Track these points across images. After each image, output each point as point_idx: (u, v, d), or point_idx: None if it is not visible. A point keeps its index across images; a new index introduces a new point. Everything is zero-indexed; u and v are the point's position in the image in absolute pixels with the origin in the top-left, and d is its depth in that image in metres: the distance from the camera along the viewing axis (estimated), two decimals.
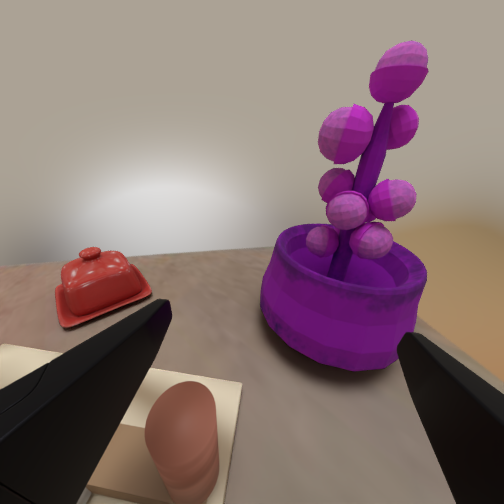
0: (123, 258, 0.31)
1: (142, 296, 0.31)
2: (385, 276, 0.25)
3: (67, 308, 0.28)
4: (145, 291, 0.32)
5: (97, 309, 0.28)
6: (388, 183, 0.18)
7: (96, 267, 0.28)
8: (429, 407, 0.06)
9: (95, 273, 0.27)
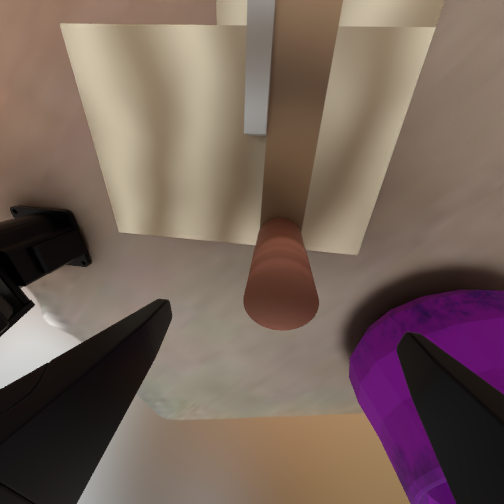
0: None
1: None
2: None
3: None
4: None
5: None
6: None
7: None
8: (429, 407, 0.06)
9: None
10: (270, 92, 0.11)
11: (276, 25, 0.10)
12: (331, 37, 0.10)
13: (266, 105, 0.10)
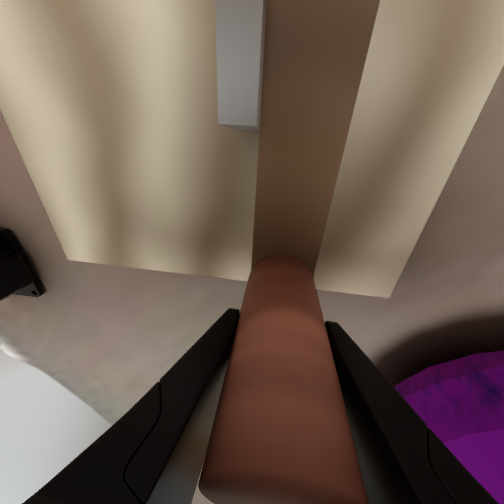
0: None
1: None
2: None
3: None
4: None
5: None
6: None
7: None
8: None
9: None
10: (265, 50, 0.06)
11: None
12: None
13: (257, 71, 0.06)
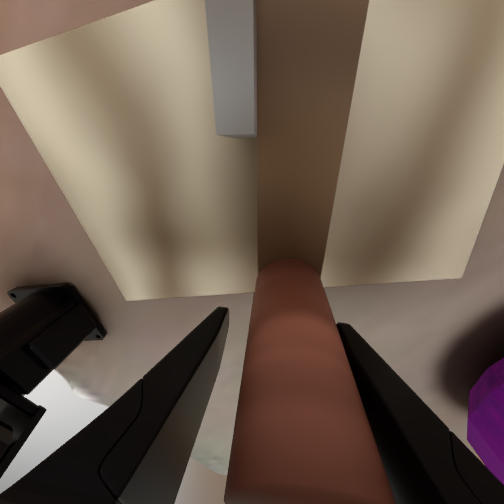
0: None
1: None
2: None
3: None
4: None
5: None
6: None
7: None
8: None
9: None
10: (258, 58, 0.06)
11: None
12: None
13: (251, 80, 0.06)
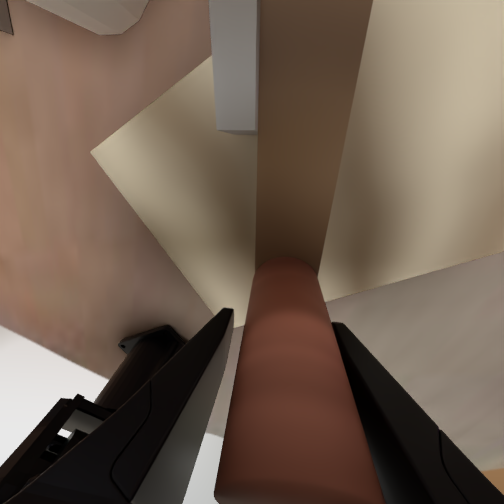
0: None
1: None
2: None
3: None
4: None
5: None
6: None
7: None
8: None
9: None
10: (260, 54, 0.06)
11: None
12: None
13: (253, 75, 0.06)
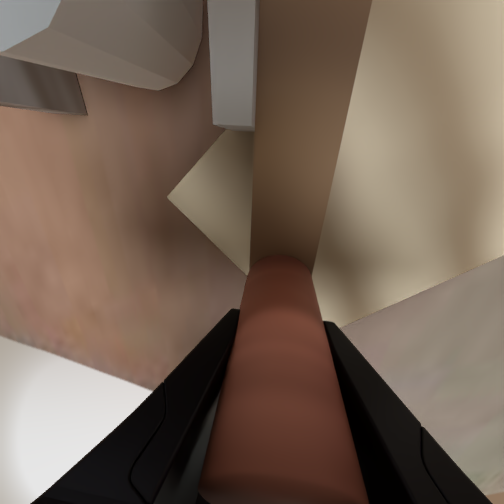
0: None
1: None
2: None
3: None
4: None
5: None
6: None
7: None
8: None
9: None
10: (259, 49, 0.06)
11: None
12: None
13: (250, 70, 0.05)
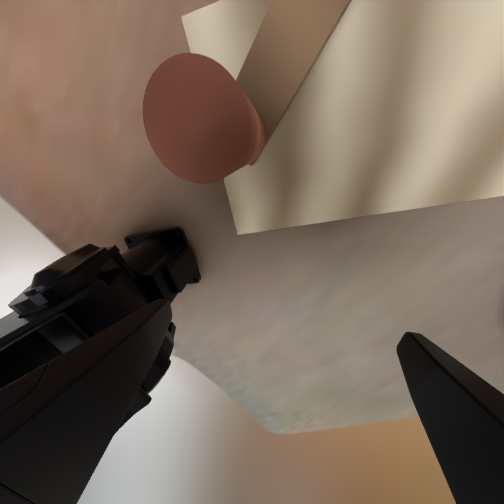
0: None
1: None
2: None
3: None
4: None
5: None
6: None
7: None
8: (429, 407, 0.06)
9: None
10: None
11: None
12: None
13: None
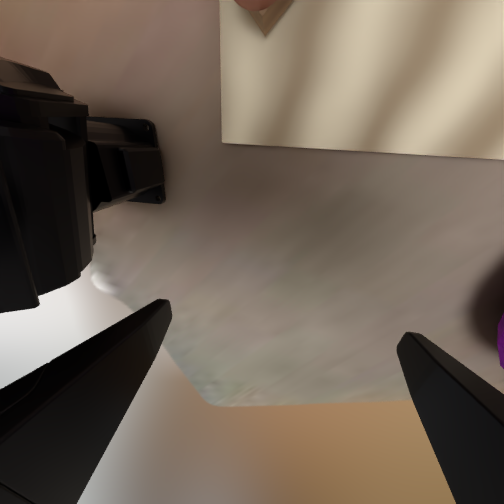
0: None
1: None
2: None
3: None
4: None
5: None
6: None
7: None
8: (429, 407, 0.06)
9: None
10: None
11: None
12: None
13: None
